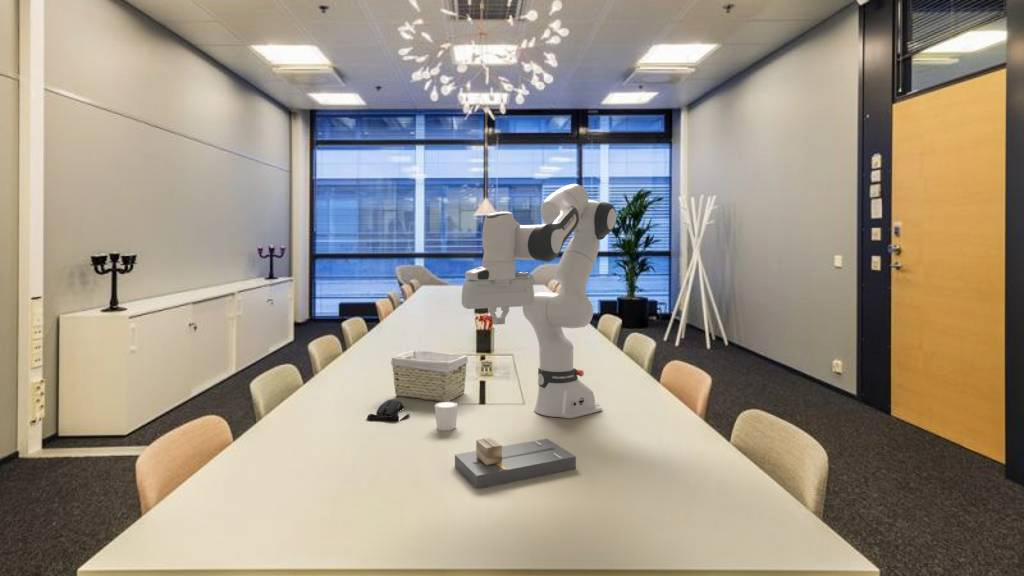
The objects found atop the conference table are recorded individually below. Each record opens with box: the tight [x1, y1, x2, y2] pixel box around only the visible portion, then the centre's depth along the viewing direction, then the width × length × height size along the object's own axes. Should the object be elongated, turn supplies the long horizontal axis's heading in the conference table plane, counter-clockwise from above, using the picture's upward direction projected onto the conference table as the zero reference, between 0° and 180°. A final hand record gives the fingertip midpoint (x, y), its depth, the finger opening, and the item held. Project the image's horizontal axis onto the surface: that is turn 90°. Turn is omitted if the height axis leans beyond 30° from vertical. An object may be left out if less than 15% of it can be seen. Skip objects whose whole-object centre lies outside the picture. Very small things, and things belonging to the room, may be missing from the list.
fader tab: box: [475, 437, 503, 465], centre depth 131 cm, size 4×6×4 cm, turn 26°
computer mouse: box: [366, 398, 411, 423], centre depth 178 cm, size 12×17×4 cm
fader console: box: [454, 438, 577, 490], centre depth 135 cm, size 26×14×3 cm, turn 116°
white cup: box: [434, 401, 459, 431], centre depth 164 cm, size 7×7×7 cm
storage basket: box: [390, 349, 469, 402], centre depth 200 cm, size 24×16×15 cm
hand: (498, 324), depth 148 cm, fingers closed
